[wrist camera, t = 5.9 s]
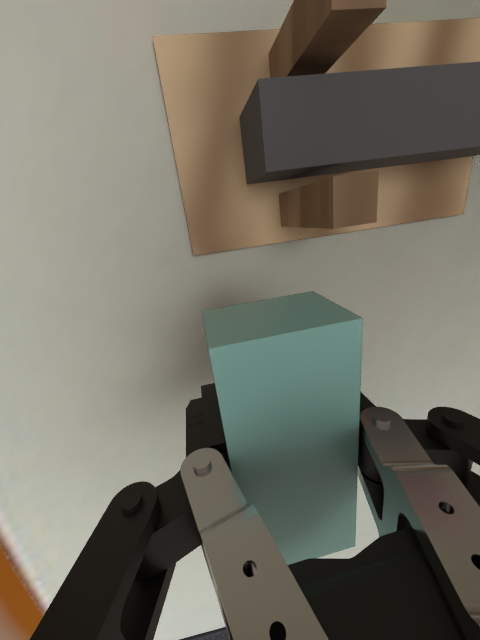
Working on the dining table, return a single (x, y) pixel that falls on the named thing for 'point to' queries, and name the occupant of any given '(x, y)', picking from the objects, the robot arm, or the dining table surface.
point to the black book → (211, 635)
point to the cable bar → (360, 120)
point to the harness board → (219, 142)
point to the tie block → (292, 415)
